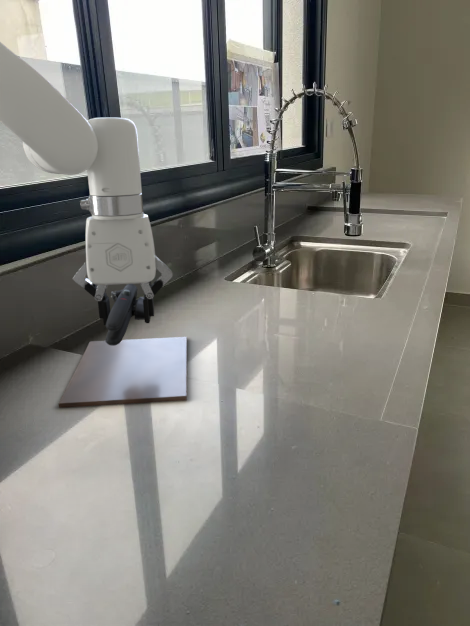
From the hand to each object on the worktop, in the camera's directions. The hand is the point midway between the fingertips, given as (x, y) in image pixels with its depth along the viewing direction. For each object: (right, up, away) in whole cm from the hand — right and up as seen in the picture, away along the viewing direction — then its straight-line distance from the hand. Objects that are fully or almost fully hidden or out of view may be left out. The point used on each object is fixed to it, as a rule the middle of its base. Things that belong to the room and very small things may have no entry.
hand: (127, 320), depth 79 cm
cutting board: (0, -9, +3) cm, 9 cm away
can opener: (0, -1, 0) cm, 1 cm away
